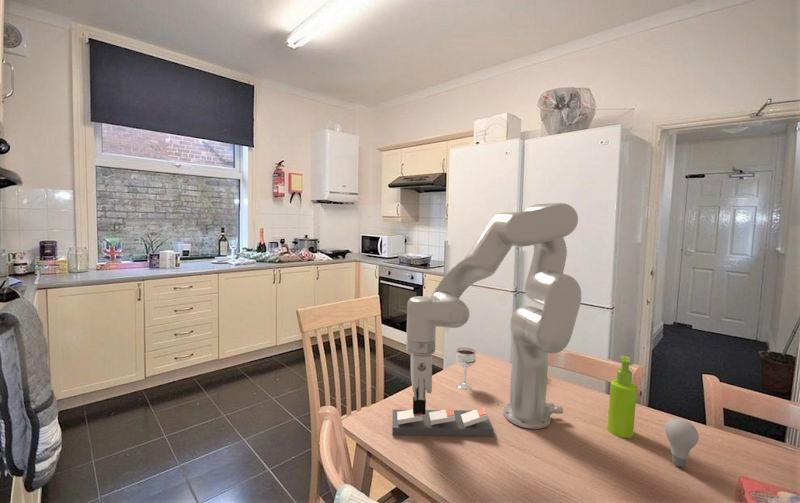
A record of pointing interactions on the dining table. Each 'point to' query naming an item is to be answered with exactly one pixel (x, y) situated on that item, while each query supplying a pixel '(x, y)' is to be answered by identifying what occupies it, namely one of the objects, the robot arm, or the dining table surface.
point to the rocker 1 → (408, 416)
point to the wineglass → (465, 363)
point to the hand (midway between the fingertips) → (419, 412)
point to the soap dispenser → (622, 402)
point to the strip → (441, 426)
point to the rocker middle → (442, 416)
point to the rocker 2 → (474, 416)
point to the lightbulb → (681, 439)
